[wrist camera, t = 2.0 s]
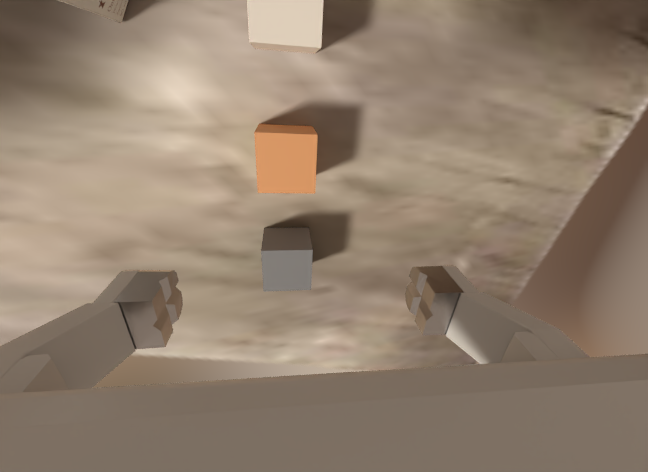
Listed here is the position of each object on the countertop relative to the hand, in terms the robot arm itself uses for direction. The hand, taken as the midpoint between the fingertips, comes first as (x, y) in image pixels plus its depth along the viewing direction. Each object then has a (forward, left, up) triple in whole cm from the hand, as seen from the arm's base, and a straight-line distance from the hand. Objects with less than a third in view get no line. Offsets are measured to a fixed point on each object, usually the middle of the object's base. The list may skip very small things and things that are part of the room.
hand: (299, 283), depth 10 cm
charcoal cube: (+9, -6, -21) cm, 24 cm away
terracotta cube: (0, 0, -21) cm, 21 cm away
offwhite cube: (-9, +6, -21) cm, 24 cm away
